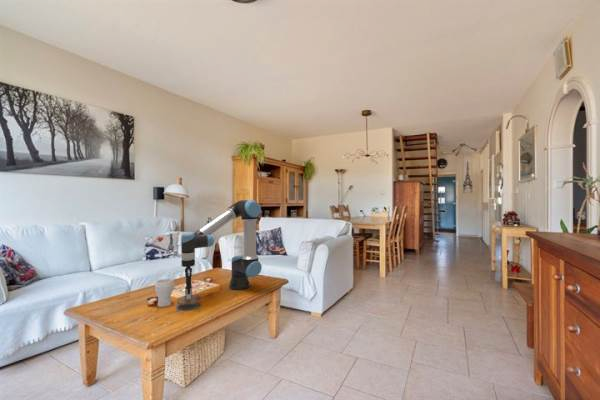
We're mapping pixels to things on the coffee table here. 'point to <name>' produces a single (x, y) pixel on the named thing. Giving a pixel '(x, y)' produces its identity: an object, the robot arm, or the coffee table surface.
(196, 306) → the mat
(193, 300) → the lid
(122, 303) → the coffee table surface
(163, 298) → the cup
